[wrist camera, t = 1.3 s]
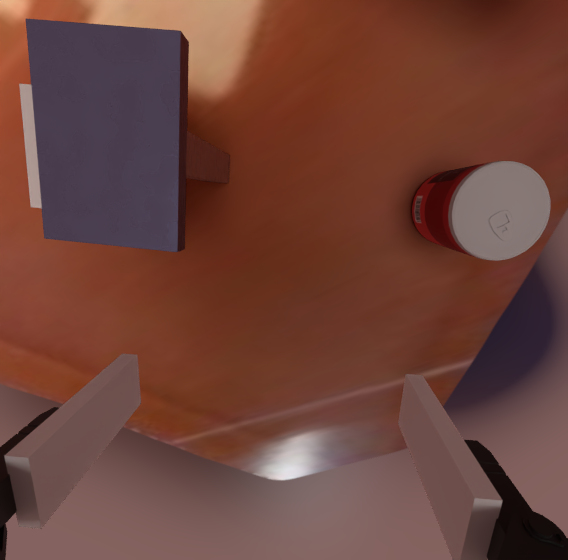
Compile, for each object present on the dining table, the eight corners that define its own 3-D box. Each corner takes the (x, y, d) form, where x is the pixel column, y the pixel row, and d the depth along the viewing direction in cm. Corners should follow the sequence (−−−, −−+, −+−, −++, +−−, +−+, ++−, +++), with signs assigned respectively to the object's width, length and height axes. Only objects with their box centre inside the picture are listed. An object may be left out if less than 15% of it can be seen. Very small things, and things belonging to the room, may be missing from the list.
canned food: (438, 257, 38) (489, 279, 28) (394, 205, 37) (430, 208, 27) (494, 211, 37) (573, 216, 26) (450, 156, 36) (513, 138, 25)
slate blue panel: (142, 93, 36) (25, 18, 21) (232, 101, 36) (180, 30, 21) (143, 223, 39) (44, 238, 24) (226, 231, 39) (177, 252, 24)
